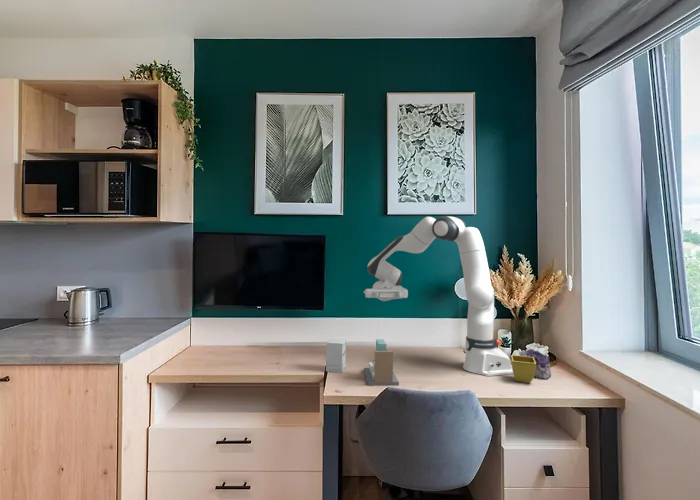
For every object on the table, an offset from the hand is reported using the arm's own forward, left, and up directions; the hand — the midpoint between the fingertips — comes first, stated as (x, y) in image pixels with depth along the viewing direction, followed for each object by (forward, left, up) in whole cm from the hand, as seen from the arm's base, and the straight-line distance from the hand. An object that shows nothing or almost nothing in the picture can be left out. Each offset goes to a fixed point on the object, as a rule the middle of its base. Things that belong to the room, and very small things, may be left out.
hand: (388, 295), depth 177 cm
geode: (-64, +12, -32) cm, 73 cm away
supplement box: (+24, +5, -32) cm, 41 cm away
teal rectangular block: (+6, +17, -31) cm, 36 cm away
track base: (+6, +16, -32) cm, 36 cm away
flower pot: (-52, +22, -32) cm, 65 cm away
